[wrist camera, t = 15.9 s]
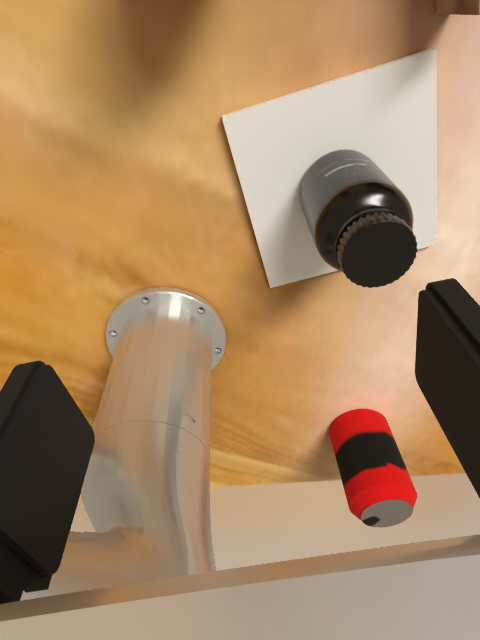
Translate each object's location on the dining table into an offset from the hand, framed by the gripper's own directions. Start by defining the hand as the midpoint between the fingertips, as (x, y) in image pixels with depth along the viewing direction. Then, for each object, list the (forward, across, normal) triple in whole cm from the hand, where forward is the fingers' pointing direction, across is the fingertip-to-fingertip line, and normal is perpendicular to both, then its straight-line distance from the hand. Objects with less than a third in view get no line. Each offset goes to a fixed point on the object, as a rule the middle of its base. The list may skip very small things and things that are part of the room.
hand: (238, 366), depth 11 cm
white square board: (+28, -8, +7) cm, 30 cm away
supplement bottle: (+27, -8, +7) cm, 29 cm away
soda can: (+28, -9, +40) cm, 49 cm away
